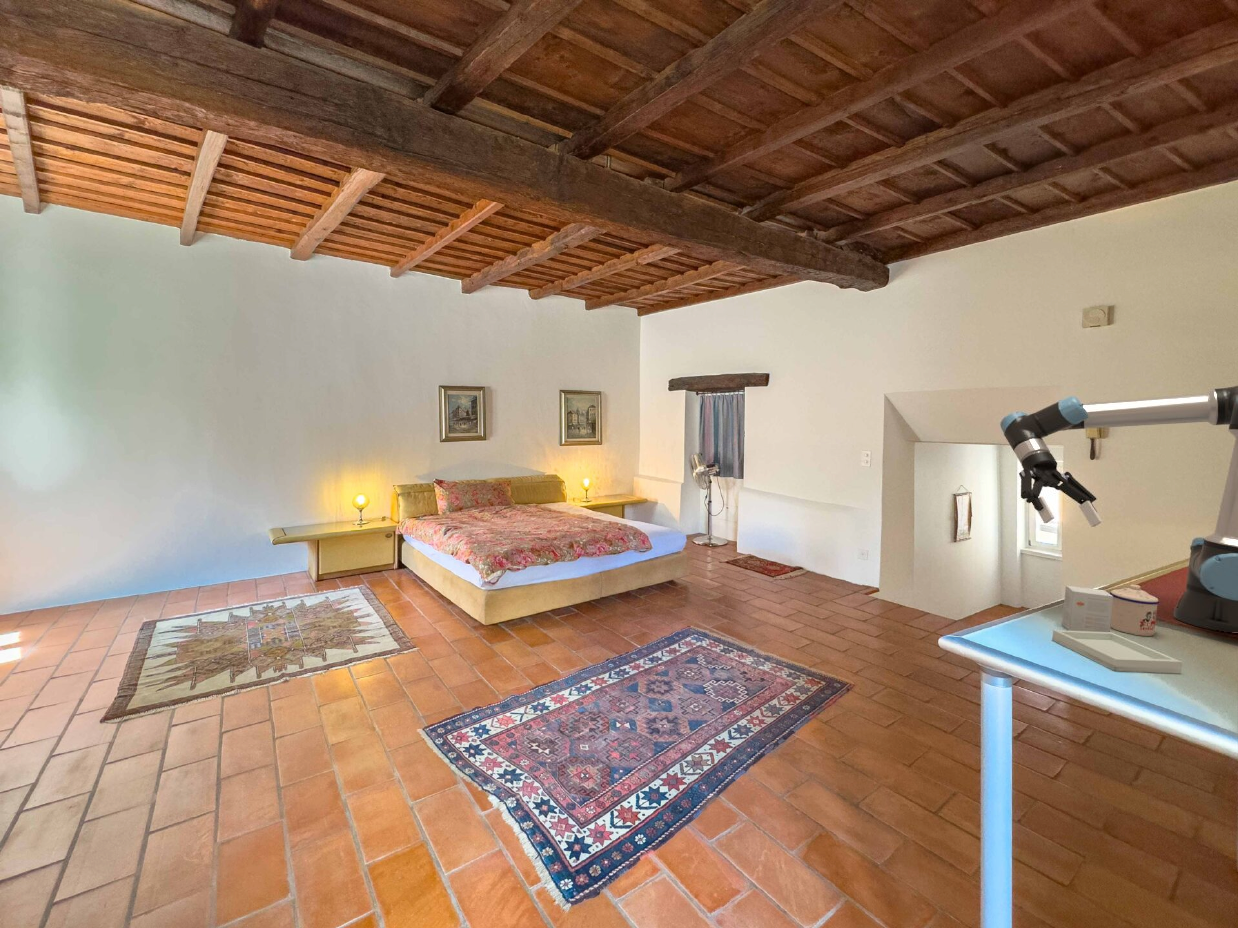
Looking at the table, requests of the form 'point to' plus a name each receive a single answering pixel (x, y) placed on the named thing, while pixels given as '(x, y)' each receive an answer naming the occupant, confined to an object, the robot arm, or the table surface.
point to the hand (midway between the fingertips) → (1073, 522)
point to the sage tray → (1117, 652)
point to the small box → (1087, 609)
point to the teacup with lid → (1133, 611)
